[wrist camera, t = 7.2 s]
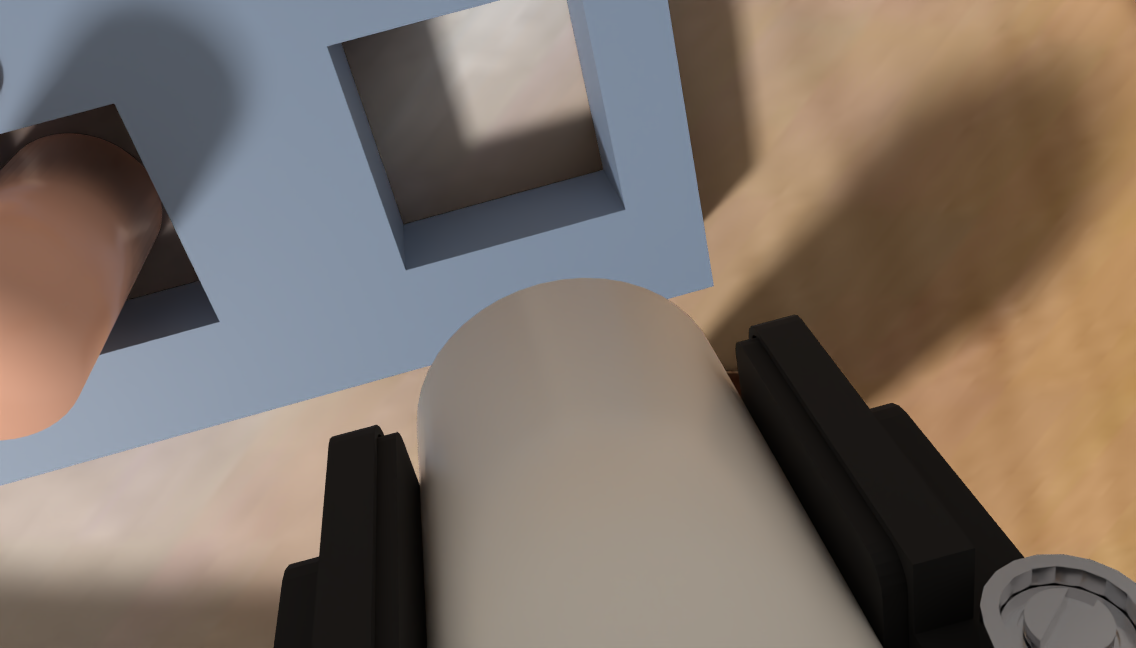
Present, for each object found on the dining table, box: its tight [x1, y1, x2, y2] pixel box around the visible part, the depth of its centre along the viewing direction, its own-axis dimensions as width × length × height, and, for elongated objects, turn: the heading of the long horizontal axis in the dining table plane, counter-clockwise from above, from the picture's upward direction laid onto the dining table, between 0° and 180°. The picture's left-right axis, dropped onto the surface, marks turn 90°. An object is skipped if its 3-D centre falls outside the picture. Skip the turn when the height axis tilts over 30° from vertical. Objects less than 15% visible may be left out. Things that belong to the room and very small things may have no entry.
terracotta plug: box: [0, 133, 162, 440], centre depth 23 cm, size 4×4×8 cm
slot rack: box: [0, 0, 714, 486], centre depth 25 cm, size 21×12×3 cm, turn 103°
